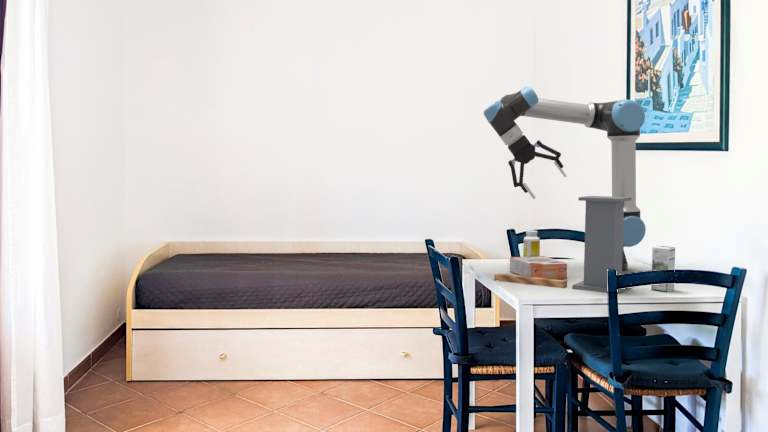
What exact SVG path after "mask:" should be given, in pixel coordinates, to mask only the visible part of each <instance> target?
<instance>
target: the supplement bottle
mask: <svg viewBox="0 0 768 432" xmlns="http://www.w3.org/2000/svg"><path fill="white" fill-rule="evenodd" d="M525 234H526V236H524V237H523V248H522V249H523V250H522V251H523V252H522V253H523V255H522V257H532V256H541V254H540V253H541V252H540V251H541V250H540V249H541V248H540V247H541V245H540V243H541V239H540V237H538V230H533V229H532V230H531V229H530V230H525Z"/></svg>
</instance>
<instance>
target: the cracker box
mask: <svg viewBox="0 0 768 432" xmlns="http://www.w3.org/2000/svg"><path fill="white" fill-rule="evenodd" d="M567 270H568V263H567V262H564V261H560V260H557V259H554V258H551V257H548V256H544V255H540V256H532V257H523V256H511V257H509V272H511V273H513V274H514V275H520V276H529V277H538V278H547V279H557V280H562V279H567V278H568V276H567V274H568V271H567Z"/></svg>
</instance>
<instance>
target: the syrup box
mask: <svg viewBox="0 0 768 432" xmlns="http://www.w3.org/2000/svg"><path fill="white" fill-rule="evenodd" d="M651 255H652V256H651V257H652V258H651V272H652V271H654V270H674V271H675V269H676V268H675V266H676V247H675V246H668V245H667V246H666V245H665V246H664V245H654V246H652V254H651ZM650 286H651V290H652V291H659V292H667V293H668V292H671V291H674V290H675V283H674V284H659V285H652V284H651V285H650Z"/></svg>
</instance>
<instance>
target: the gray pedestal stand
mask: <svg viewBox="0 0 768 432" xmlns="http://www.w3.org/2000/svg"><path fill="white" fill-rule="evenodd" d="M630 200H631V197H612V196H609V195H607V196H603V195H601V196H600V195H587V196H580V197H578V201H581V202H585V215H584V217H585V218H584V219H585V220H584V222H585V223H584V252H583V253H584V255H583V257H584V258H583V259H584V260H583V280H581V281H579V282H577V283H574V284H572V285H571V289H572V290H573V289H575V290H583V291H593V292H603V293H608V292H607V269H608V268H616V271H617V275H619V274H622V275H623V270H622V253H623V220H624V201H630ZM628 290H631V288H625V289H618V293H617V294H622V293H624V292H627V291H628Z"/></svg>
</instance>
